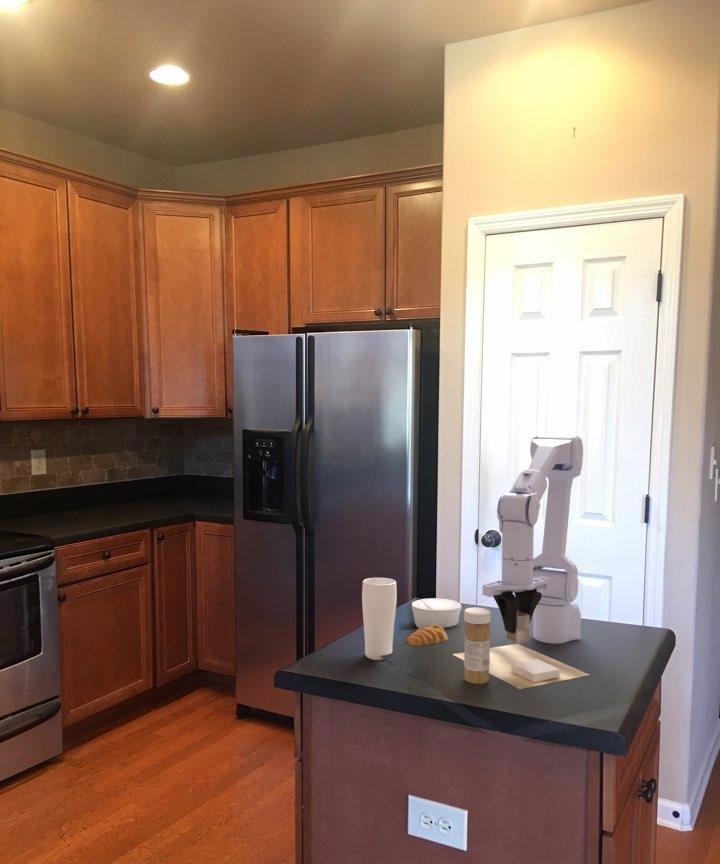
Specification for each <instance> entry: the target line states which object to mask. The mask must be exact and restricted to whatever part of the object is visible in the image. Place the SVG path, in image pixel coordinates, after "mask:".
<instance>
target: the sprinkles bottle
mask: <svg viewBox="0 0 720 864" xmlns="http://www.w3.org/2000/svg"><path fill="white" fill-rule="evenodd" d="M463 618H464V619H463V621H464V623H465V624H464V628H465V629H464V648H463V649H464V652H463V653H464V660H463V662H464V663H463V665H464V680H465V681H466V682H468V683H470V684H474V685H475V684H476V685H477V684H478V685H480V684H481V685H482V684H486V683H488V682H490V679H489V678H490V674H489V665H490V648H491V647H490V646H491V645H490V644H491V638H490V624H491V610H489V609H488V608H485V607H468V608H465V610H464V614H463Z"/></svg>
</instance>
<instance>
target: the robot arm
mask: <svg viewBox="0 0 720 864" xmlns="http://www.w3.org/2000/svg"><path fill="white" fill-rule="evenodd" d="M583 456H584V447H583V440H582V438H581V437H580V436H579V435H578V434H574V435H560V434H559V435H558V434H555V435H554V434H538V433H536V434H535V435H534V436H533V437H532V438H531V441H530V458H531V459H532V460H531V461H530V465H529V467H528V469H524V470H522V471H521V472H520V473H519V475H518V476H517V479H516V480H515V482H514V484H513V485H512V487H511V489H510V491H509V492H505V493H504V494H501V496H500V497H499V499H498V501H497V502H498V503H497V507H496V508H497V509H496V515H497V519H498V523H499V524H498V525H499V527H498V528H499V533H501V578H500V579H499V580H494V581H492V582H489V583H483V584H482V596H485V597H488V598H493V600H494V601H495V603H496V606H497V607H498V609H499V612H500V616H501V619H502V622H503V627H504V631H505V632H506V633H507V632H510V633H515V630H516V616H517V610H519V611H522V612H525V613H527V614H528V615H530V619H529V627H530V625H531V621H532V618H533V633H532V634H533V635H532V636H533V639H534V640H536V641H539V642H542V643H546V644H564V643H568V642H570V641H576V640H581V634H582V633H581V629H582V628H581V626H582V625H581V621H582V619H581V617H582V615H581V609H580V607H579V605H578V604H577V602H575V600H576V599H577V596H578V592H579V578H578V574H579V573H578V572H579V571H578V568H577V565H576V564H575V563H574V562H573V561H572V560H571V559H569V557H567V555H566V549H567V541H568V539H567V537H568V529H569V527H568V526H569V515H570V504H571V496H572V495H571V493H572V486H573V482H574V479H575V478H577V477H579V476H581V471H582V469H583V458H584V457H583ZM547 488H548V489H547ZM546 490H547V497H546V508H545V517H544V518H545V519H544V527H543V529H544V530H543V538H542V539H543V540H542V547H541V548H542V549H541V553H540V554H538V555H537V556H535V557H534V538H535V537H534V529H535V527H534V526H535V525H536V524H537V522H538V520H539V514H540V509H541V502H540V501H542V500H541V499H542V498H543V496H544V494H545V492H546ZM547 568H550V569H547ZM555 569H557V570H555ZM562 570H563V571H562Z"/></svg>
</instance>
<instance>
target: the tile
mask: <svg viewBox="0 0 720 864" xmlns="http://www.w3.org/2000/svg"><path fill="white" fill-rule="evenodd" d="M511 671H512V672H513V673H515V674H517V675H519V676H521V677H523V678H525V679H527V680H530V681H532V682H539V681H544V680H549V679H554V678H558V677H560V669H559V668H556V667H554V666H552V665H550V664H547V663H545V662H543V661H541V660H538V659H534V660H529V661H523V662H518V663H512V664H511Z"/></svg>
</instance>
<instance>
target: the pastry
mask: <svg viewBox="0 0 720 864" xmlns="http://www.w3.org/2000/svg"><path fill="white" fill-rule="evenodd" d="M448 640H449V637H448V634H447V633H446V631H445V629H444V627H441V626H438V625H434V626H432V625H430V626H429V627H424V628H418V629H416V630H415V631H414V632H413V633H411V634H410V635H408V636H407V638H405V643H406V644H408V645H409V646H418V647H420V646H428V645H433V644H434V645H435V644H438V643H439V644H440V643H441V642H446V641H448Z"/></svg>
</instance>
